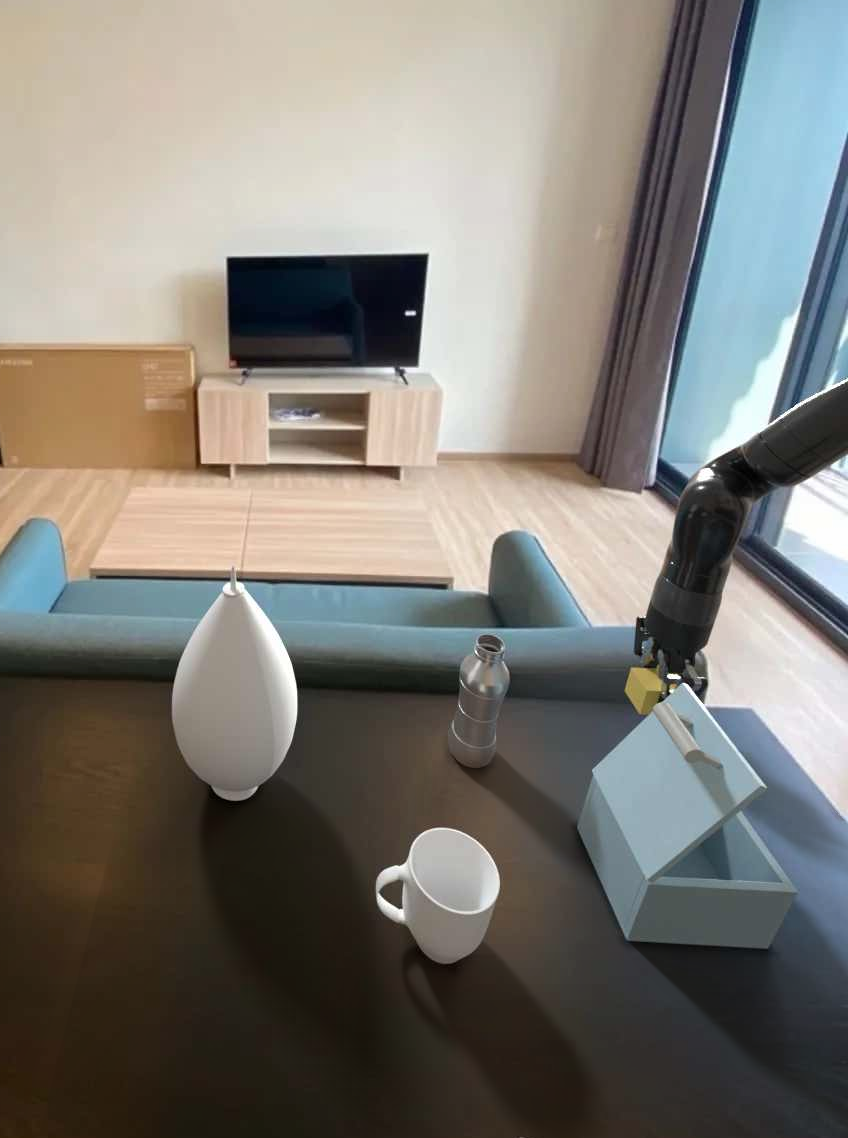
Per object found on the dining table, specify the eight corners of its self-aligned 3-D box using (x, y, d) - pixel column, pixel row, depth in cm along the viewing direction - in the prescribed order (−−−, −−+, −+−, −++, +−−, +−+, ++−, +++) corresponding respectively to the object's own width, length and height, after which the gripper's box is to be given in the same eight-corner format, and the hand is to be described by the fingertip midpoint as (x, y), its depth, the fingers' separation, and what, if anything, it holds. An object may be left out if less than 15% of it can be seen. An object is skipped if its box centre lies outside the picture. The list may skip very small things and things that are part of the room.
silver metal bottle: (446, 769, 89) (466, 656, 81) (444, 730, 95) (463, 622, 87) (495, 779, 88) (520, 666, 80) (490, 739, 94) (513, 630, 86)
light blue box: (696, 835, 81) (719, 780, 77) (766, 951, 69) (798, 892, 65) (576, 829, 81) (593, 774, 77) (625, 943, 70) (648, 884, 66)
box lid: (688, 684, 71) (651, 668, 71) (768, 788, 60) (725, 769, 59) (596, 772, 77) (562, 758, 77) (653, 883, 66) (613, 866, 65)
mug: (472, 901, 73) (488, 830, 69) (490, 992, 65) (510, 919, 61) (368, 889, 75) (377, 818, 70) (374, 978, 66) (384, 905, 62)
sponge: (665, 692, 96) (673, 668, 94) (682, 716, 92) (691, 692, 90) (624, 690, 96) (631, 667, 94) (639, 714, 92) (647, 690, 90)
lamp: (287, 846, 79) (297, 617, 65) (162, 826, 81) (146, 601, 68) (298, 740, 93) (308, 534, 80) (192, 726, 96) (184, 523, 82)
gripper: (746, 643, 80) (709, 743, 87) (681, 575, 94) (653, 667, 100) (684, 641, 81) (652, 741, 87) (628, 574, 94) (604, 665, 100)
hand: (653, 701), depth 94 cm, fingers closed on sponge, 4 cm apart
